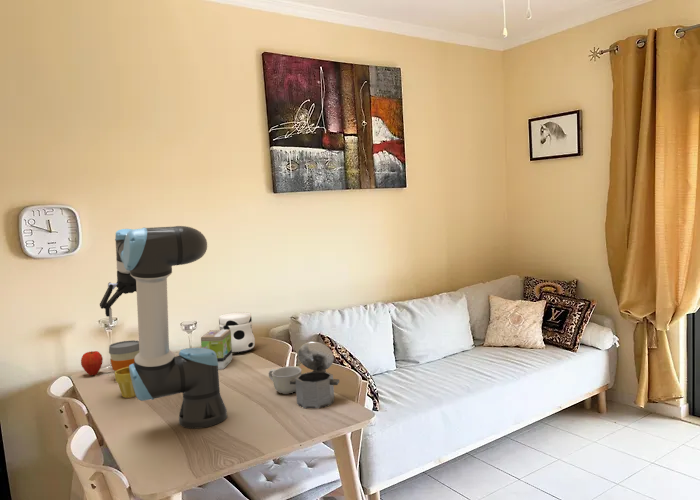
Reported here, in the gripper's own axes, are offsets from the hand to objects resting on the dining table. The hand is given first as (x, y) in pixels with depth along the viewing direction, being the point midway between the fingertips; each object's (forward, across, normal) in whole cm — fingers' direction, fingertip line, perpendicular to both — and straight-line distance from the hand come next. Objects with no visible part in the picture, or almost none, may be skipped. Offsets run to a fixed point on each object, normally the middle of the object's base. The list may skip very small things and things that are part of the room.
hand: (129, 320), depth 209 cm
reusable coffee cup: (+33, 0, -9) cm, 34 cm away
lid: (-5, -50, +59) cm, 77 cm away
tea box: (+31, -37, -2) cm, 48 cm away
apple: (+38, +11, -26) cm, 47 cm away
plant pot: (+25, +3, +13) cm, 29 cm away
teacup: (+14, -45, +48) cm, 67 cm away
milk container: (+36, -53, -18) cm, 66 cm away
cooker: (+8, -47, +65) cm, 81 cm away
